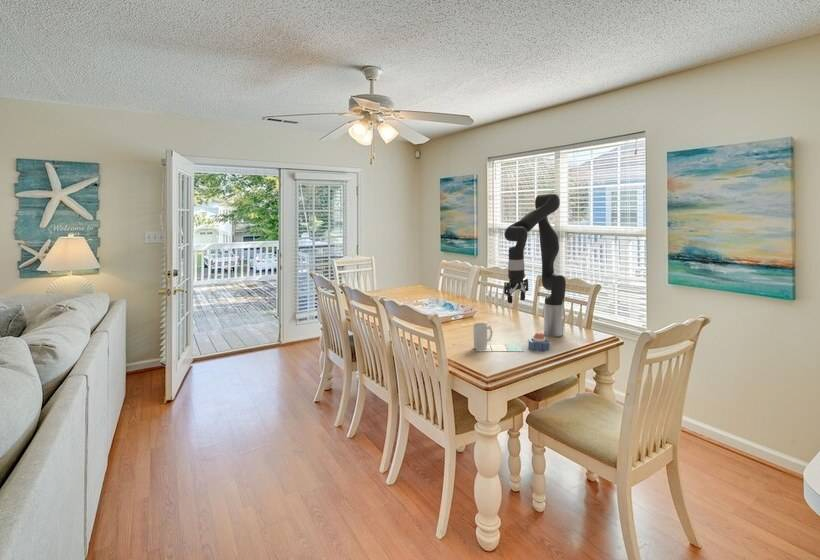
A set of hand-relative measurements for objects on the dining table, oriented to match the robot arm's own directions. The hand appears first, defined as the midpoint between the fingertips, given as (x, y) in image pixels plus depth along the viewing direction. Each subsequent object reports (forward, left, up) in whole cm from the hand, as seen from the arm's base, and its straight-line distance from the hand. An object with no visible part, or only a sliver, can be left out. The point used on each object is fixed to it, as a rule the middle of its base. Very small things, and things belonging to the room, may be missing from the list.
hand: (516, 301), depth 205 cm
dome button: (-10, +5, -21) cm, 24 cm away
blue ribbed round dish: (-10, +5, -24) cm, 26 cm away
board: (+7, -4, -24) cm, 25 cm away
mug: (+14, -8, -24) cm, 28 cm away
